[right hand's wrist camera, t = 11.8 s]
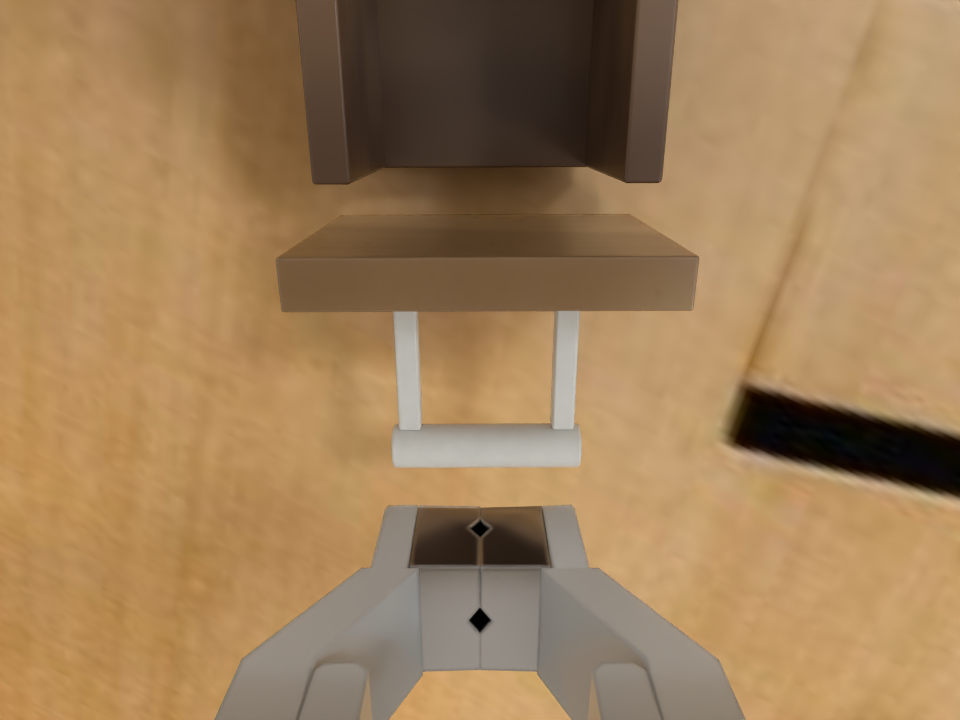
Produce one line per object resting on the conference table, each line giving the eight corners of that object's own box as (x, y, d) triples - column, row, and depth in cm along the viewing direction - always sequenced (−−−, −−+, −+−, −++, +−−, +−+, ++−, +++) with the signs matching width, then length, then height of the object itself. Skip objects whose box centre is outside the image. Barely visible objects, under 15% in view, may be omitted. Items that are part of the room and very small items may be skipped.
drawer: (616, 408, 22) (669, 521, 16) (355, 408, 22) (305, 522, 16) (686, -524, 14) (848, -1036, 8) (282, -522, 14) (125, -1029, 8)
